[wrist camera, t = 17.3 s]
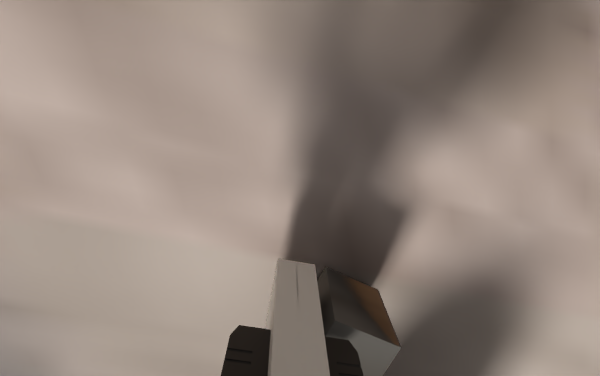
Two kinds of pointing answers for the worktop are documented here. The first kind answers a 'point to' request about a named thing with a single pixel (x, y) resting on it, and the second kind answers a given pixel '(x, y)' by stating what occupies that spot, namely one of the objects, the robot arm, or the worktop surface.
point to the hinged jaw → (358, 320)
